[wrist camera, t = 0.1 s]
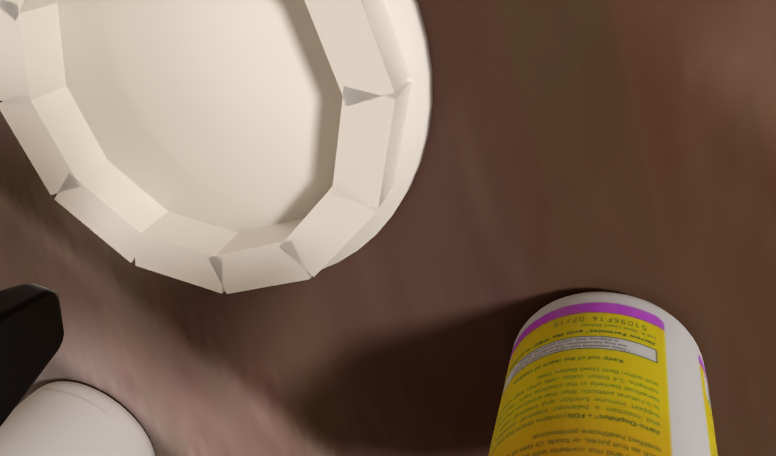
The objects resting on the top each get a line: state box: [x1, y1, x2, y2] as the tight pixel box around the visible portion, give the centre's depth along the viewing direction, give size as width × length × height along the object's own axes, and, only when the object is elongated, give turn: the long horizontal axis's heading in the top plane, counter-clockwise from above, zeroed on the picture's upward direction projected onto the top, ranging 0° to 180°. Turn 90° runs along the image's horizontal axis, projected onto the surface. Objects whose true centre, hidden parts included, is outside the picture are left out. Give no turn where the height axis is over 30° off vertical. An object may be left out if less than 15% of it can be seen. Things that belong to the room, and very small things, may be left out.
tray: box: [0, 0, 433, 294], centre depth 23 cm, size 16×16×3 cm
